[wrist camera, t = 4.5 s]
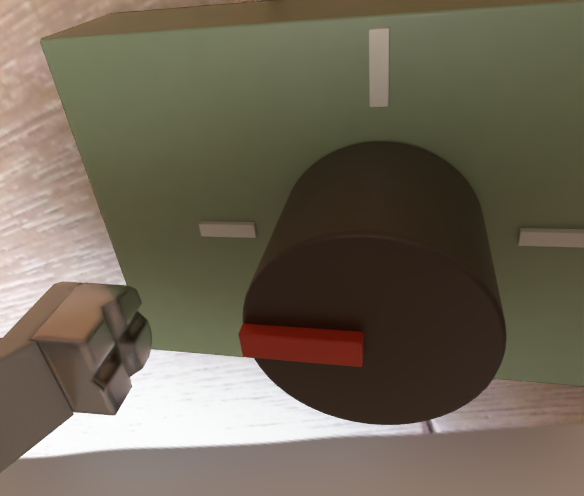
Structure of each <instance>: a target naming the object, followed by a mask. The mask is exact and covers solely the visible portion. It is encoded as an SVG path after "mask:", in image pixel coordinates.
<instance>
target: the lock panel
mask: <svg viewBox="0 0 584 496" xmlns="http://www.w3.org/2000/svg"><path fill="white" fill-rule="evenodd" d="M40 43H41V46H42V49H43V52H44V54H45V57H46V60H47V63H48V66H49V68H50V71H51V74H52V77H53V80H54V82H55V85H56V88H57V91H58V94H59V96H60V99H61V102H62V105H63V108H64V110H65V113H66V116H67V119H68V122H69V124H70V127H71V130H72V133H73V136H74V138H75V141H76V144H77V147H78V150H79V153H80V155H81V158H82V161H83V164H84V167H85V169H86V172H87V175H88V178H89V181H90V183H91V186H92V189H93V192H94V195H95V197H96V200H97V203H98V206H99V209H100V211H101V214H102V217H103V220H104V223H105V225H106V228H107V231H108V234H109V237H110V239H111V242H112V245H113V248H114V251H115V253H116V256H117V259H118V262H119V265H120V267H121V270H122V273H123V276H124V279H125V281H126V284H127V286H131V287H133V288H135V289H137V291H138V293H139V296H140V299H141V301H142V304H141V306H140V308H139V310H138V312H139V313H141V314H142V315H143V316H144V317H145V318H146V319H147V320H148V321H149V324H150V327H151V331H152V345H151V349H155V350H167V351H179V352H190V353H202V354H214V355H225V356H237V357H244V356H243V354H242V350H241V345H240V340H239V336H238V334H239V331H240V329H241V327H242V324H243V319H242V317H243V304H244V300H245V295H246V293H247V290H248V288H249V286H250V283H251V281H252V279H253V276H254V274H255V272H256V270H257V267H258V265H259V263H260V260H261V258H262V256H263V254H264V251H265V249H266V247H267V245H268V242H269V240H270V238H271V236H272V233H273V231H274V229H275V226H276V224H277V222H278V220H279V217H280V215H281V213H282V211H283V208H284V206H285V204H286V201H287V199H288V197H289V195H290V192H291V190H292V189H293V187H294V185H295V184H296V182H297V180H298V179H299V178H300V177H301V176H302V175H303V173H304V172H305V171H306V170H307V169H308V168H310V167H311V166H312V165H313V164H314V163H315V162H317V161H318V160H320V159H321V158H323V157H324V156H326V155H328V154H330V153H332V152H334V151H336V150H339V149H342V148H345V147H348V146H351V145H356V144H361V143H367V142H395V143H401V144H407V145H411V146H414V147H417V148H421V149H424V150H426V151H428V152H430V153H432V154H435V155H437V156H438V157H440V158H441V159H443V160H445V161H446V162H448V163H449V164H450V165H452V166H453V167H454V168H455V169H456V170H458V171H459V172H460V173H461V175H462V176H463V177H464V178H465V179H466V180H467V181H468V183H469V184H470V186H471V187H472V189H473V190H474V192H475V194H476V196H477V198H478V200H479V202H480V206H481V209H482V213H483V217H484V222H485V226H486V231H487V236H488V241H489V246H490V250H491V255H492V260H493V265H494V270H495V275H496V279H497V284H498V289H499V294H500V299H501V303H502V308H503V313H504V318H505V323H506V333H507V340H506V350H505V353H504V357H503V360H502V363H501V365H500V367H499V369H498V371H497V373H496V375H495V377H494V378H493V379H505V380H516V381H528V382H539V383H551V384H563V385H574V386H584V0H270V1H258V2H246V3H234V4H221V5H209V6H197V7H184V8H172V9H160V10H148V11H135V12H123V13H111V14H108V15H105V16H102V17H100V18H97V19H94V20H91V21H89V22H86V23H83V24H80V25H77V26H75V27H72V28H69V29H66V30H64V31H61V32H58V33H55V34H53V35H50V36H47V37H44V38H42V39H41V40H40ZM248 358H251V357H248Z"/></svg>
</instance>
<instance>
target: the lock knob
mask: <svg viewBox="0 0 584 496" xmlns="http://www.w3.org/2000/svg"><path fill="white" fill-rule="evenodd" d="M242 319H243V324H242V327H241V329H240V331H239V334H238V336H239V340H240V345H241V350H242V354H243V356H244V357H251V358H255V360H256V362H257V363H258V365H259V366H260V368H261V369H262V370H263V371H264V372H265V374H266V375H267V376H268V377H269V378H270V379H271V380H272V381H273V382H274V383H275V384H276V385H277V386H278V387H280V388H281V389H282V390H283V391H285V392H286V393H287V394H289V395H290V396H292V397H293V398H295V399H296V400H298V401H300V402H302V403H303V404H305V405H307V406H309V407H311V408H313V409H316V410H318V411H320V412H323V413H325V414H328V415H331V416H334V417H337V418H341V419H345V420H349V421H354V422H360V423H367V424H379V425H400V424H410V423H417V422H422V421H427V420H431V419H434V418H437V417H441V416H443V415H446V414H448V413H451V412H453V411H455V410H457V409H459V408H461V407H462V406H464V405H466V404H468V403H469V402H470V401H472V400H473V399H474V398H476V397H477V396H478V395H479V394H480V393H481V392H482V391H483V390H484V389H485V388H486V387H487V386H488V385H489V384H490V382H491V381H492V380H493V378H494V377H495V375H496V373H497V371H498V369H499V367H500V365H501V363H502V360H503V357H504V353H505V350H506V340H507V333H506V323H505V318H504V313H503V308H502V303H501V299H500V294H499V289H498V284H497V279H496V275H495V270H494V265H493V260H492V255H491V250H490V246H489V241H488V236H487V231H486V226H485V222H484V217H483V213H482V209H481V206H480V202H479V200H478V198H477V196H476V194H475V192H474V190H473V189H472V187H471V186H470V184H469V183H468V181H467V180H466V179H465V178H464V177H463V176H462V175H461V173H460V172H459V171H458V170H456V169H455V168H454V167H453V166H452V165H450V164H449V163H448V162H446V161H445V160H443V159H441V158H440V157H438V156H437V155H435V154H432V153H430V152H428V151H426V150H424V149H421V148H417V147H414V146H411V145H407V144H401V143H395V142H367V143H361V144H356V145H351V146H348V147H345V148H342V149H339V150H336V151H334V152H332V153H330V154H328V155H326V156H324V157H323V158H321V159H320V160H318V161H317V162H315V163H314V164H313V165H312V166H311V167H310V168H308V169H307V170H306V171H305V172H304V173H303V175H302V176H301V177H300V178H299V179H298V180H297V182H296V184H295V185H294V187H293V189H292V190H291V192H290V195H289V197H288V199H287V201H286V204H285V206H284V208H283V211H282V213H281V215H280V217H279V220H278V222H277V224H276V226H275V229H274V231H273V233H272V236H271V238H270V240H269V242H268V245H267V247H266V249H265V251H264V254H263V256H262V258H261V260H260V263H259V265H258V267H257V270H256V272H255V274H254V276H253V279H252V281H251V283H250V286H249V288H248V290H247V293H246V295H245V300H244V304H243V317H242Z"/></svg>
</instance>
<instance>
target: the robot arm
mask: <svg viewBox="0 0 584 496" xmlns="http://www.w3.org/2000/svg"><path fill="white" fill-rule="evenodd" d="M141 304H142V301H141V299H140V296H139V293H138V291H137V289H135V288H133V287H131V286H124V285H110V284H96V283H77V282H59V283H56V284H54V285H53V286H52V287H51V288H50V289H49V290H48V291H47V292H46V293H45V294H44V295H43V296H42V297H41V298H40V299H39V300H38V301H37V303H36V304H35V305H34V306H33V307H32V308H31V309H30V310H29V311H28V312H27V313H26V314H25V315H24V316H23V317H22V318H21V319H20V320H19V321H18V322H17V323H16V325H15V326H14V327H13V328H12V329H11V330H10V331H9V332H8V333H7V334H6V335H5V336H4V337H3V338H0V473H1V472H2V471H3V470H4V469H6V468H7V467H8V466H9V465H11V464H12V463H13V462H15V461H16V460H17V459H18V458H20V457H21V456H22V455H23V454H25V453H26V452H27V451H28V450H30V449H31V448H32V447H33V446H35V445H36V444H37V443H38V442H40V441H41V440H42V439H43V438H45V437H46V436H47V435H48V434H50V433H51V432H52V431H53V430H55V429H56V428H57V427H58V426H60V425H61V424H62V423H64V422H65V421H66V420H67V419H69V418H70V417H71V416H72V415H73V412H79V413H92V414H104V415H116V413H117V411H118V410H119V408H120V406H121V404H122V403H123V401H124V399H125V398H126V396H127V394H128V392H129V391H130V389H131V387H132V385H131V380H130V376H132V375H133V374H135V373H136V372H138V371H139V370H141V369H142V368H143V367H144V365H145V363H146V361H147V359H148V357H149V354H150V350H151V345H152V331H151V327H150V324H149V321H148V320H147V319H146V318H145V317H144V316H143V315H142V314H141V313H139V312H138V310H139V308H140V306H141Z"/></svg>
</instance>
